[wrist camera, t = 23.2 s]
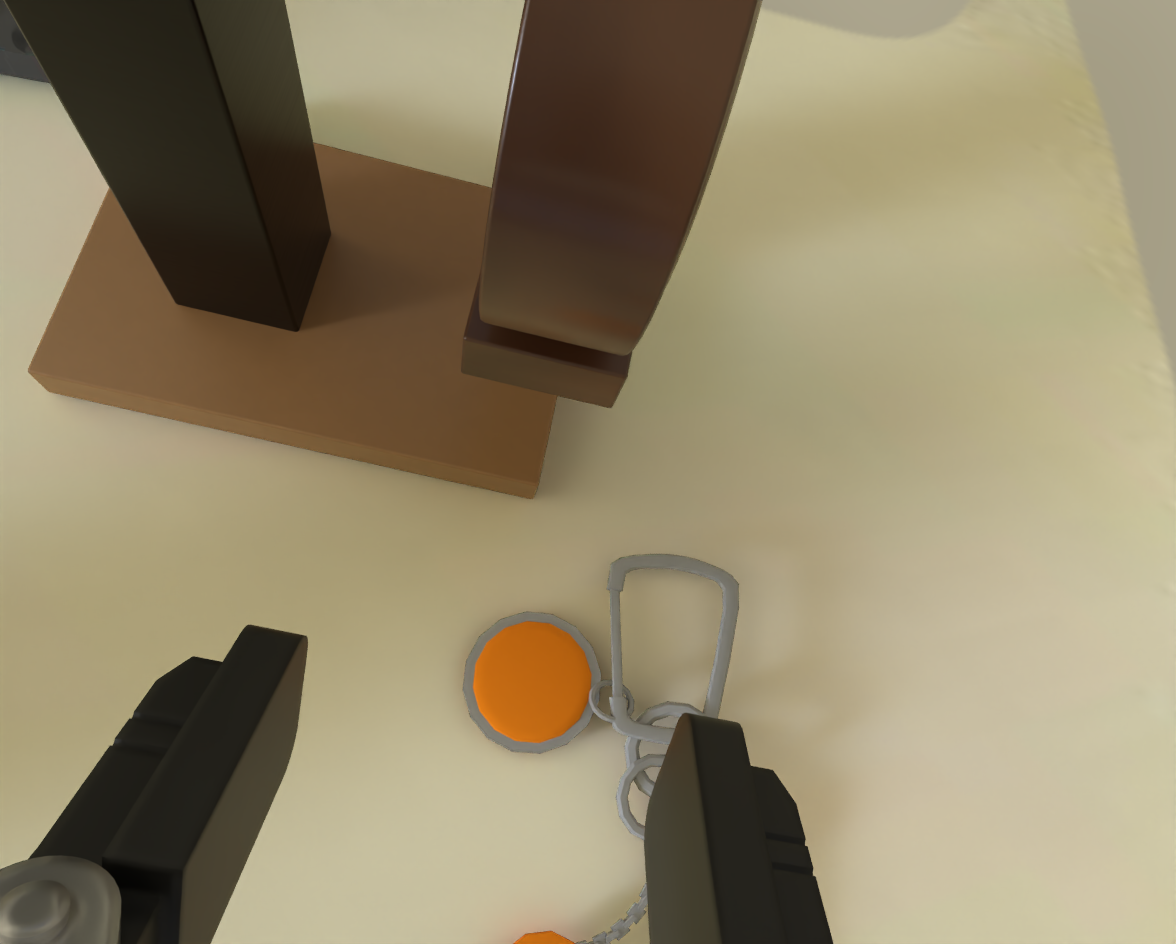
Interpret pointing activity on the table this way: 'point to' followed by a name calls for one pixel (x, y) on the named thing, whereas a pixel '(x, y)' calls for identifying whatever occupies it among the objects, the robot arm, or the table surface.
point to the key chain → (582, 694)
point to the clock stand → (265, 254)
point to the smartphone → (16, 50)
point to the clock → (598, 183)
